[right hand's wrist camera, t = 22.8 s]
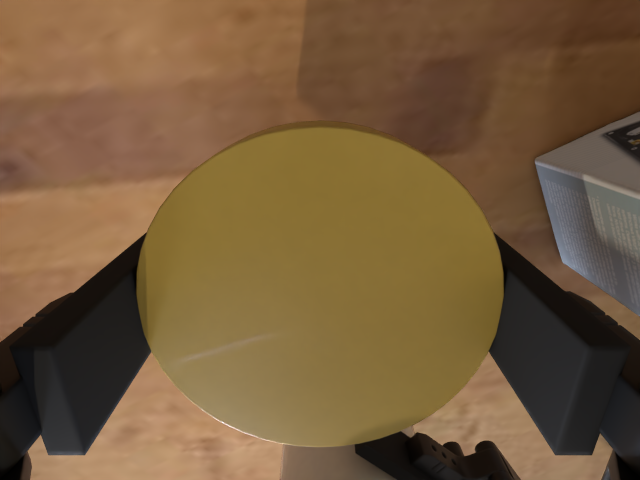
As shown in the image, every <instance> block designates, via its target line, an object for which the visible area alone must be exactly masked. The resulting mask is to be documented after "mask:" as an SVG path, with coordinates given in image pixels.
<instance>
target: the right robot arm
mask: <svg viewBox="0 0 640 480" xmlns="http://www.w3.org/2000/svg"><path fill="white" fill-rule="evenodd" d="M493 233H494V232H493ZM146 234H147V233H145V234H144V235H143V236H142V237H140V238H139V239H138V240H137V241H136V242H134V243H133V244H132V245H131V246H130V247H128V248H127V249H126V250H125V251H124V252H122V253H121V254H120V255H119V256H118V257H116V258H115V259H114V260H113V261H112V262H110V263H109V264H108V265H107V266H106V267H104V268H103V269H102V270H101V271H99V272H98V273H97V274H96V275H95V276H93V277H92V278H91V279H90V280H89V281H87V282H86V283H85V284H84V285H83V286H81V287H80V288H79V289H78V290H77V291H75V292H74V293H69V294H67V295H65V296H63V297H61V298H59V299H57V300H55V301H53V302H51V303H49V304H48V305H47V306H46V307H44V308H43V309H42V310H41V311H39V312H38V313H37V314H36V316H35V317H32V318H30V319H29V320H28V321H27V322H25V323H24V324H23V327H19V328H18V329H17V330H15V331H14V332H13V333H12V334H10V335H9V336H8V337H6V338H5V339H4V340H3V341H1V342H0V480H30V475H31V469H32V466H31V459H30V457H29V454H28V449H29V448H30V447H31V446H32V444H33V443H34V442H35V441H36V439H37V438H38V437H39V436H40V435H41V436H42V439H43V442H44V444H45V447H46V450H47V453H48V455H85V454H86V453H87V451H88V450H89V448H90V446H91V445H92V443H93V442H94V440H95V439H96V437H97V435H98V434H99V432H100V431H101V429H102V428H103V426H104V425H105V423H106V421H107V420H108V418H109V417H110V415H111V414H112V412H113V411H114V409H115V407H116V406H117V404H118V403H119V401H120V400H121V398H122V397H123V395H124V393H125V392H126V390H127V389H128V387H129V386H130V384H131V382H132V381H133V379H134V378H135V376H136V375H137V373H138V372H139V370H140V368H141V367H142V365H143V364H144V362H145V361H146V359H147V358H148V356H149V354H150V353H151V349H150V347H149V344H148V342H147V340H146V337H145V335H144V332H143V327H142V323H141V318H140V313H139V308H138V303H137V297H136V280H137V268H138V262H139V257H140V251H141V248H142V245H143V242H144V239H145V237H146ZM494 236H495V239H496V241H497V244H498V247H499V250H500V255H501V261H502V266H503V272H504V298H503V303H502V309H501V314H500V319H499V323H498V328H497V332H496V336H495V338H494V340H493V342H492V345H491V347H490V349H489V352H490V354H491V356H492V357H493V359H494V360H495V362H496V363H497V365H498V367H499V368H500V370H501V371H502V373H503V374H504V376H505V377H506V379H507V381H508V382H509V384H510V385H511V387H512V388H513V390H514V391H515V393H516V395H517V396H518V398H519V399H520V401H521V402H522V404H523V405H524V407H525V409H526V410H527V412H528V413H529V415H530V416H531V418H532V420H533V421H534V423H535V424H536V426H537V427H538V429H539V430H540V432H541V434H542V435H543V437H544V438H545V440H546V441H547V443H548V444H549V446H550V448H551V449H552V451H553V452H554V454H555V455H592V454H593V451H594V448H595V445H596V443H597V440H598V437H599V434H600V433H601V435H602V436H603V437H604V438H605V439H606V441H607V442H608V443H609V444H610V446H611V447H612V448H613V451H612V454H611V457H610V459H609V462H608V464H607V467H606V469H605V472H604V474H603V477H602V480H640V340H639V339H638V338H636V337H635V336H634V335H633V334H631V333H630V332H629V331H627V330H626V329H625V328H624V327H622V326H621V325H618V323H617V322H616V321H615V320H613V319H612V318H611V317H610V316H608V315H605V312H603V311H602V310H601V309H599V308H598V307H597V306H596V305H594V304H593V303H592V302H591V301H589V300H587V299H585V298H583V297H580V296H578V295H576V294H574V293H572V292H570V291H564V290H563V289H561V288H560V287H559V286H558V285H556V284H555V283H554V282H553V281H552V280H550V279H549V278H548V277H547V276H546V275H544V274H543V273H542V272H541V271H540V270H538V269H537V268H536V267H535V266H534V265H532V264H531V263H530V262H529V261H528V260H526V259H525V258H524V257H523V256H521V255H520V254H519V253H518V252H517V251H515V250H514V249H513V248H512V247H511V246H509V245H508V244H507V243H506V242H505V241H503V240H502V239H501V238H500V237H499V236H497V235H496V234H495V233H494Z"/></svg>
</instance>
